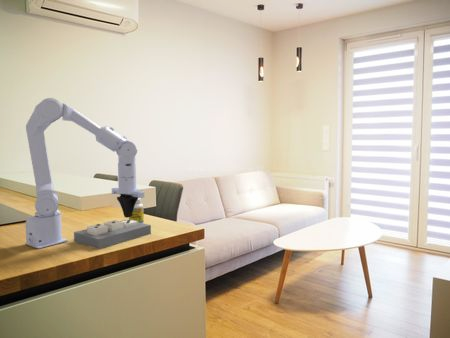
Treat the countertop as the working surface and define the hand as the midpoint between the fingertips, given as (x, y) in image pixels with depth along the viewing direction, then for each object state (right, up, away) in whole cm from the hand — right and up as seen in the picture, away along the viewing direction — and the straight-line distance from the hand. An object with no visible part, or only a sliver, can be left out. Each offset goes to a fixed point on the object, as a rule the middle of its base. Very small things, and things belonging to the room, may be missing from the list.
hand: (128, 216), depth 120 cm
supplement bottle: (0, -5, +13) cm, 14 cm away
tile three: (0, -5, 0) cm, 5 cm away
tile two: (-7, -5, -9) cm, 12 cm away
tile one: (-3, -4, -4) cm, 7 cm away
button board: (-3, -6, -4) cm, 8 cm away
